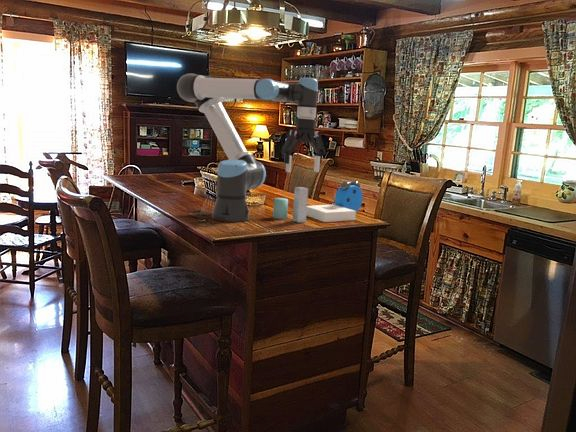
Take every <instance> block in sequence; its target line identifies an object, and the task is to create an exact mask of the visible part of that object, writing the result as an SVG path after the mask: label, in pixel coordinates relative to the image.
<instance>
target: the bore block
mask: <svg viewBox="0 0 576 432" xmlns="http://www.w3.org/2000/svg"><path fill="white" fill-rule="evenodd" d="M356 215H357V212H356V211H354V210H351V209H348V208H344V207H341V206H338V205H335V204H316V205H307V215H306V217H310V218H312V219H315V220H317V221H321V222H323V223H330V222H331V223H332V222H334V223H335V222H345V221H346V222H348V221H356V218H357V217H356Z"/></svg>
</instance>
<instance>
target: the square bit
mask: <svg viewBox="0 0 576 432" xmlns="http://www.w3.org/2000/svg"><path fill="white" fill-rule="evenodd" d="M308 199H309V188H308V187H304V186H297V187H296V186H294V192H293V210H292V222H294V223H298V224H300V223H307V216H306V215H307V206H308Z"/></svg>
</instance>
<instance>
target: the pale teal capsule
mask: <svg viewBox="0 0 576 432" xmlns="http://www.w3.org/2000/svg"><path fill="white" fill-rule="evenodd" d="M288 207H289V199H288V198H285V197H274V198H273V209H272V210H273V211H272V213H273V214H272V218H273V219H275V220H287V219H288V210H289V209H288Z"/></svg>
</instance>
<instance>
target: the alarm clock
mask: <svg viewBox="0 0 576 432" xmlns="http://www.w3.org/2000/svg"><path fill="white" fill-rule="evenodd" d="M363 199H364V197H363V192H362V189H361V183H360V182H359V181H358V180H351V181H350V182H349V181H347V180H345V181H341V182H340V185H339V187H338V189H337V191H336V192H335V195H334V205H338V206H341V207H344V208H348V209H351V210H354V211H356V213H357V212H358V211H359V210H360V208H361V207H362V204H363Z"/></svg>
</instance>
